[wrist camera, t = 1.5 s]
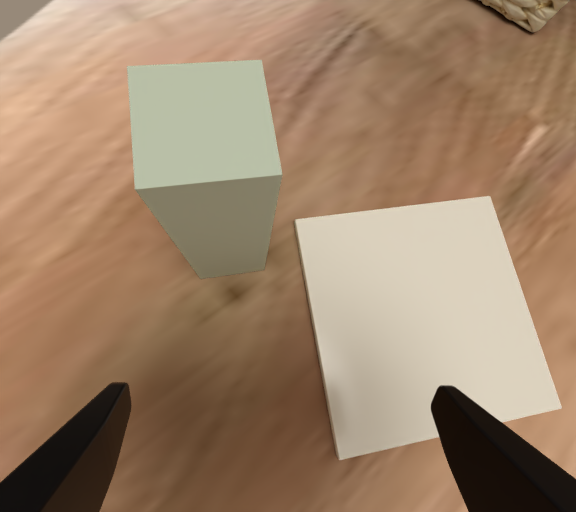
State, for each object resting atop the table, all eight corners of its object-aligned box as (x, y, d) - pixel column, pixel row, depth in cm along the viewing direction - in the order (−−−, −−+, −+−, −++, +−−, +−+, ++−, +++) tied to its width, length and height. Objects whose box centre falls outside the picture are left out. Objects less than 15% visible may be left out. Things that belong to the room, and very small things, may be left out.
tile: (336, 456, 22) (339, 460, 21) (293, 223, 25) (295, 219, 25) (551, 406, 24) (562, 408, 23) (483, 200, 28) (489, 195, 27)
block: (200, 279, 23) (134, 189, 10) (194, 219, 25) (127, 66, 11) (264, 270, 24) (282, 174, 11) (255, 212, 25) (261, 60, 12)
